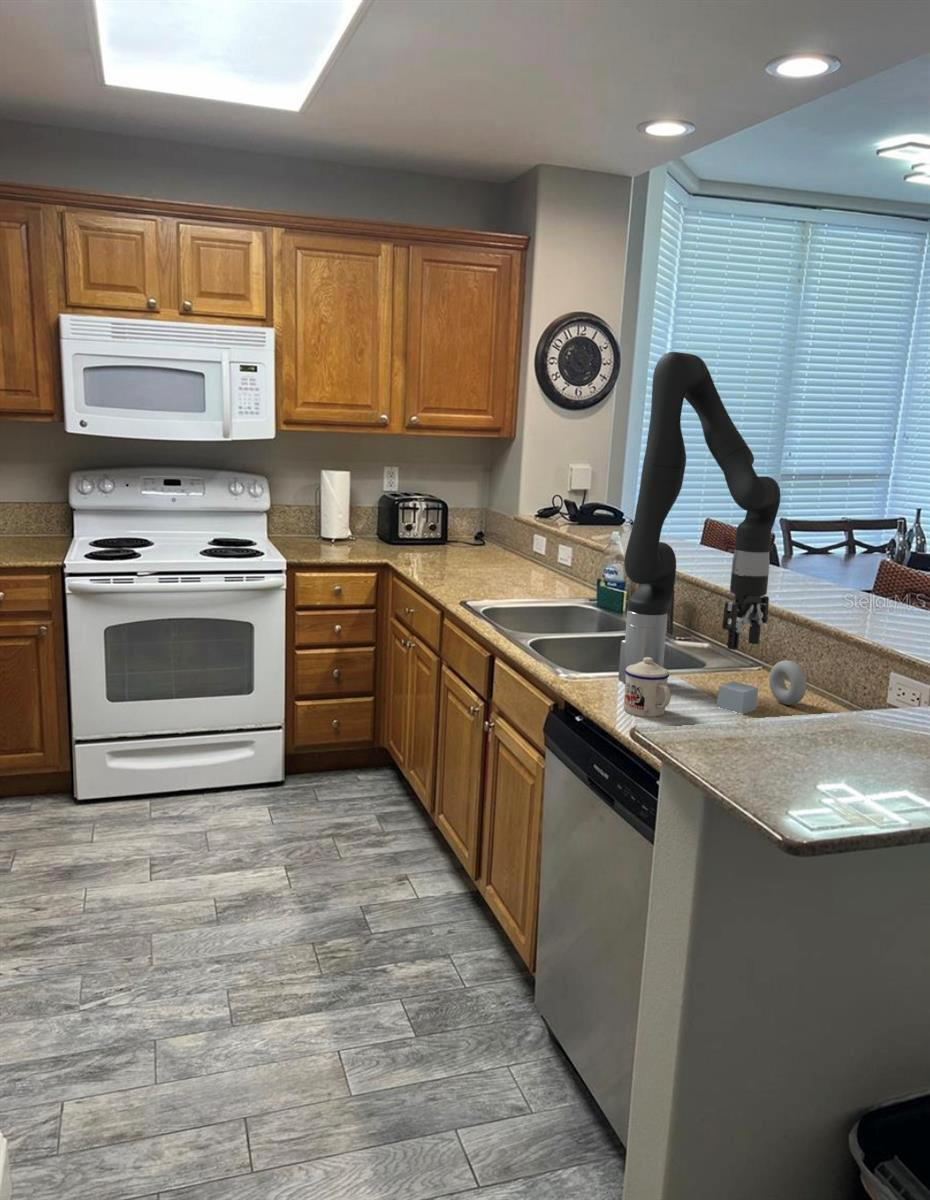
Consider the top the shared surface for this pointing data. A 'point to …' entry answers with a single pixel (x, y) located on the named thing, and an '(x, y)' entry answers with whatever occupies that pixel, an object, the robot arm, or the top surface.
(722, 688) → the gray block
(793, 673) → the donut
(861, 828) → the top surface
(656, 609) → the robot arm
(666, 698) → the teacup with lid
